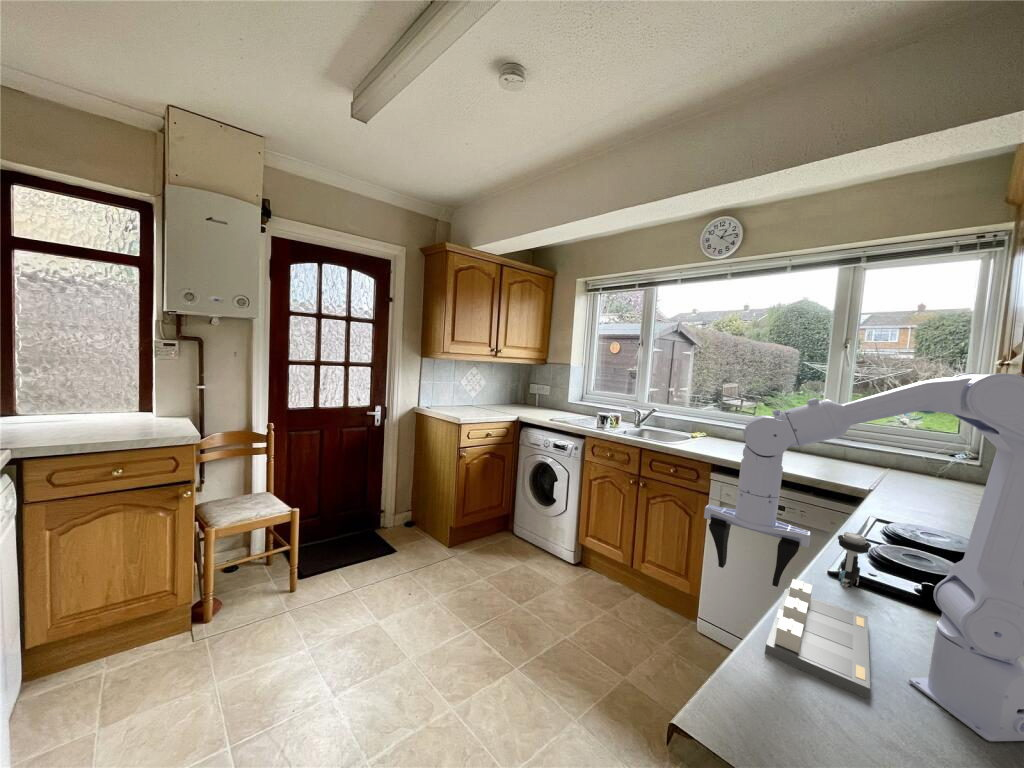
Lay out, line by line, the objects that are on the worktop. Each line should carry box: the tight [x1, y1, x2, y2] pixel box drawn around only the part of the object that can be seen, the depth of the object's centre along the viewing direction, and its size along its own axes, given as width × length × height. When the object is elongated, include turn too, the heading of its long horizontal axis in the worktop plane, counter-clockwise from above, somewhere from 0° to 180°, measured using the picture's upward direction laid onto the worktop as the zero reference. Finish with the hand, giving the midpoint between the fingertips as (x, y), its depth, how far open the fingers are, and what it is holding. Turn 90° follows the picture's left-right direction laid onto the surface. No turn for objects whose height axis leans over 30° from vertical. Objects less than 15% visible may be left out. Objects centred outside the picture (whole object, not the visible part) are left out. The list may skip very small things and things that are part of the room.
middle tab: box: [783, 596, 808, 628], centre depth 70 cm, size 4×3×3 cm
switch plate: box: [764, 588, 871, 700], centre depth 68 cm, size 22×12×2 cm, turn 141°
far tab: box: [789, 578, 813, 608], centre depth 77 cm, size 4×3×3 cm
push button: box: [837, 531, 872, 588], centre depth 87 cm, size 7×5×10 cm
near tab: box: [775, 616, 804, 653], centre depth 64 cm, size 4×3×3 cm
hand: (747, 574), depth 68 cm, fingers open, 7 cm apart
